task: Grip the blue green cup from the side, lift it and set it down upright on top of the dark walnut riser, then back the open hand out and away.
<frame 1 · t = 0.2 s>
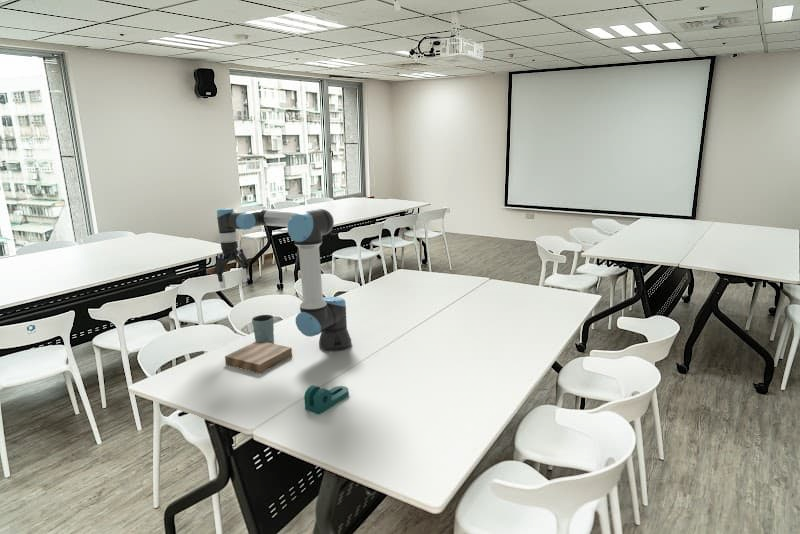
hand: (234, 284, 242), 27 cm above the table, tool pointing down, fingers open, 13 cm apart
blue green cup: (264, 341, 244), on the table
bracket: (329, 402, 185), on the table
walnut riser: (259, 360, 222), on the table
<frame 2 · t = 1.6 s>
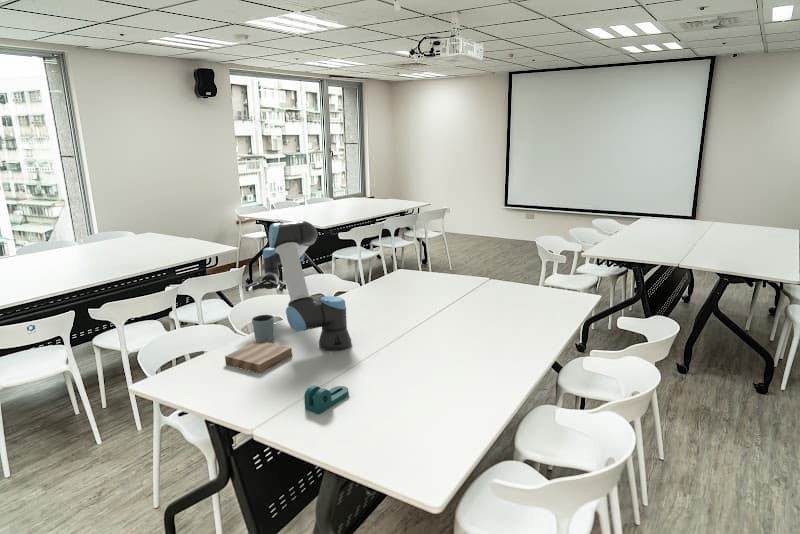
hand: (263, 292, 248), 22 cm above the table, tool horizontal, fingers open, 13 cm apart
nothing on the table moved.
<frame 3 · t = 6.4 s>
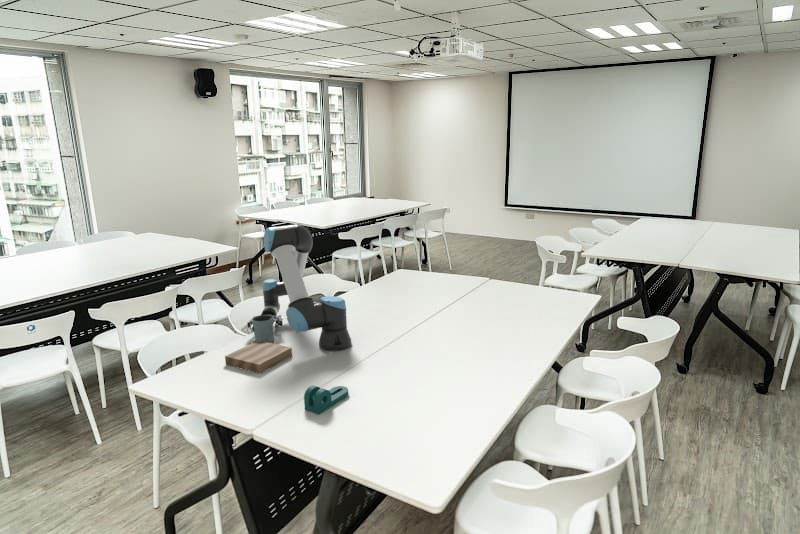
hand: (262, 329, 239), 7 cm above the table, tool horizontal, fingers closed on blue green cup, 9 cm apart
blue green cup: (264, 341, 244), on the table, touching gripper
everything else where it was.
when the fingers open (12 cm above the table, at t = 12.1 s): blue green cup stays where it is, resting on walnut riser.
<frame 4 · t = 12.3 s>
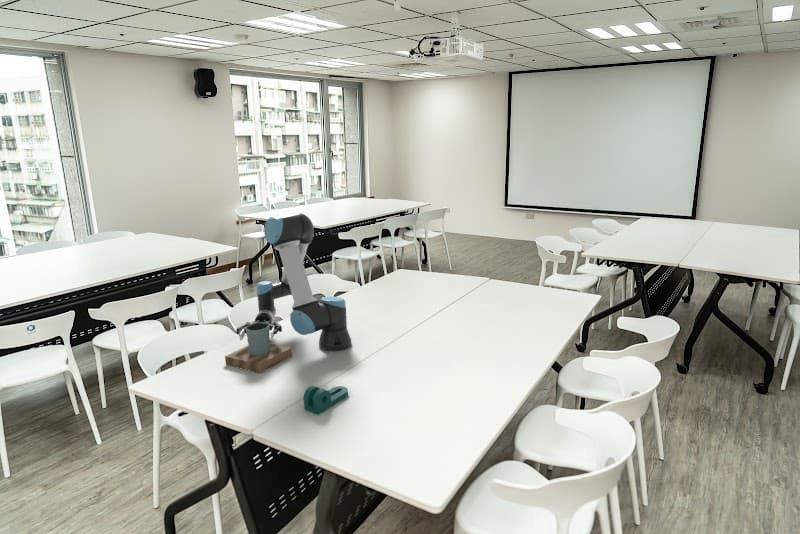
hand: (256, 336, 217), 12 cm above the table, tool horizontal, fingers open, 12 cm apart
blue green cup: (260, 352, 221), point 4 cm above the table, touching walnut riser
everything else where it was.
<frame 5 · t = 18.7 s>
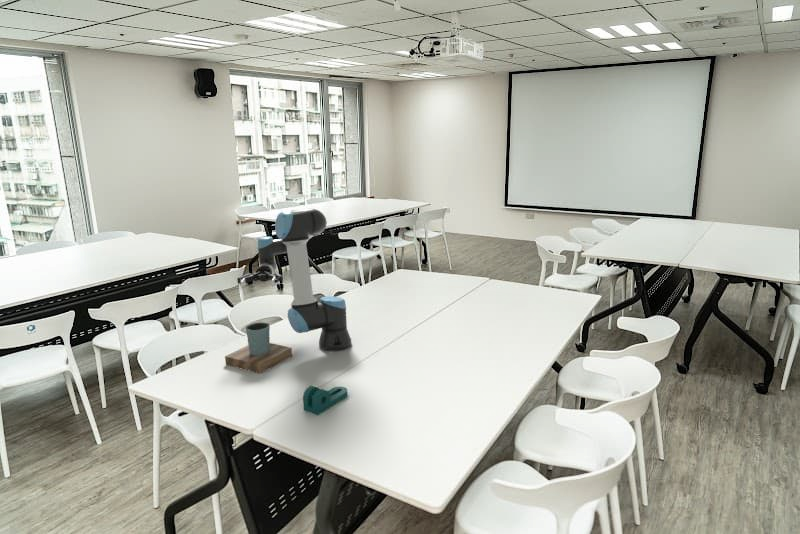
hand: (257, 284, 225), 32 cm above the table, tool horizontal, fingers open, 13 cm apart
nothing on the table moved.
at the end: blue green cup inside the target area on the walnut riser (0.5 cm from its centre), point 3.8 cm above the walnut riser's base; blue green cup tilted 0°; the gripper is holding nothing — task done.
